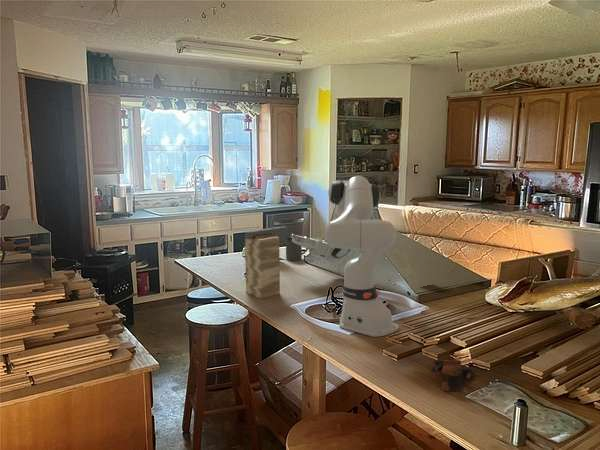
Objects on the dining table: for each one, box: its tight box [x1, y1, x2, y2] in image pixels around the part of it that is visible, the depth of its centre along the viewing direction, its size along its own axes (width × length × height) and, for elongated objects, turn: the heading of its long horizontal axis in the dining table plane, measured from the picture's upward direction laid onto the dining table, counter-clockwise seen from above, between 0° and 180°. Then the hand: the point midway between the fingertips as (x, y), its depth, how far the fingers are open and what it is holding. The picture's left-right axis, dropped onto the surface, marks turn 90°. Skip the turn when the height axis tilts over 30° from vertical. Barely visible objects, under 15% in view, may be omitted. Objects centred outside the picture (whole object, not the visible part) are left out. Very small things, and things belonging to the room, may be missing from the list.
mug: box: [285, 237, 309, 262], centre depth 280 cm, size 14×9×12 cm
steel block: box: [244, 225, 288, 240], centre depth 213 cm, size 3×21×3 cm, turn 130°
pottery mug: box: [431, 359, 478, 392], centre depth 134 cm, size 12×10×8 cm
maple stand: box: [244, 234, 281, 300], centre depth 214 cm, size 12×10×27 cm
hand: (298, 237), depth 226 cm, fingers open, 8 cm apart
